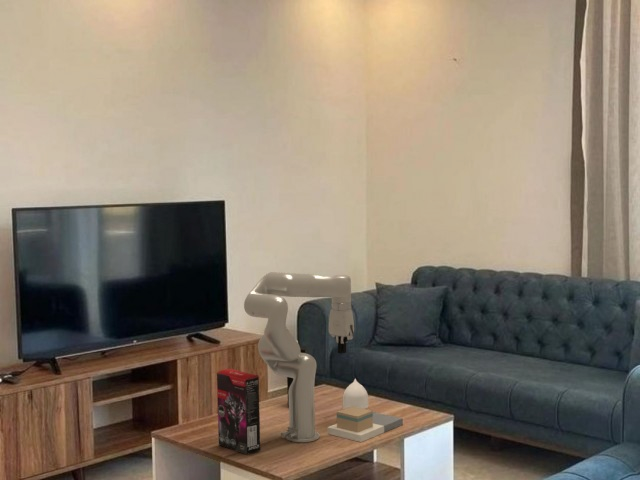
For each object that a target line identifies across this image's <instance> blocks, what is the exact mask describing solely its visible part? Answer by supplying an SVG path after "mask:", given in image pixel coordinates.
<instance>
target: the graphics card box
mask: <svg viewBox="0 0 640 480" xmlns="http://www.w3.org/2000/svg"><path fill="white" fill-rule="evenodd" d="M259 379H260V376H259V375H257V374H252V373H249V372H245V371H241V370H236V369H232V368H227V369H222V370H219V371H218V372H216V387H217V388H216V389H217V392H216V395H217V421H218V423H217V424H218V425H217V426H218V427H217V428H218V429H217V430H218V446H222V447H225V448H227V449H230V450H233V451H237V452H239V453H242V454H244V455H250V454H253V453H257V452H260V451H261V424H260V423H261V421H260V419H261V418H260V416H261V415H260V385H259V384H260V382H259V381H260V380H259Z"/></svg>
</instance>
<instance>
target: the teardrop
mask: <svg viewBox="0 0 640 480" xmlns="http://www.w3.org/2000/svg"><path fill="white" fill-rule="evenodd" d="M351 406H353V407H357V408H362V409H367V408H369V406H370V405H369V395H368V391H367V390H366V388H365V387H364V386H363V385H362V384H361V383H360V382H359V381H358V380H357V379H356V378H354V380H353V382H351V383H350V384H349V385H348V386H347V387H346V388H345V390H344V392H343V396H342V408H343V409H346V408H348V407H351Z"/></svg>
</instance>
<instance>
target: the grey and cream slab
mask: <svg viewBox="0 0 640 480" xmlns="http://www.w3.org/2000/svg"><path fill="white" fill-rule="evenodd" d="M403 421H404V420H403V417H399V416H393V415H389V414H385V413H381V412H374V411H373V427H370V428H368V429H365V430H363V431H361V432H353V431H349V430H345V429H341V428H337V423H335V424H332V425H330V426H327V428H326V429H327V431H326V432H327V434H328V435H332V436H336V437H339V438H343V439H347V440H351V441H355V442H358V443H362V442H365V441H368V440H370V439H372V438H375V437H377V436H380V435H382V434H384V433H386V432H389V431H391V430H394V429H396V428H398V427H401V426H403V425H404V424H403V423H404V422H403Z"/></svg>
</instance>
